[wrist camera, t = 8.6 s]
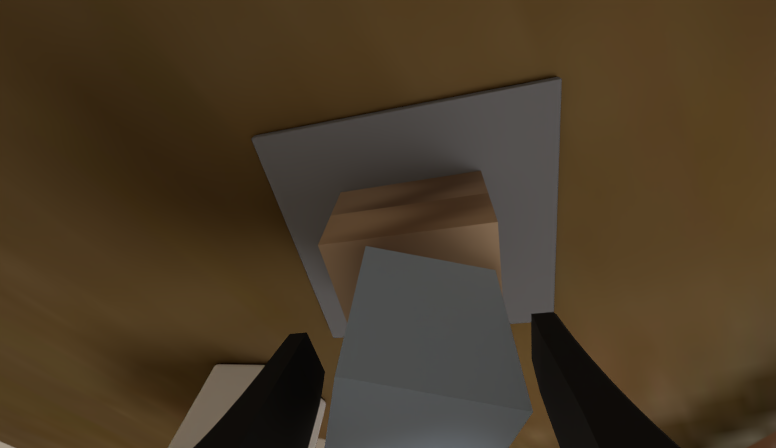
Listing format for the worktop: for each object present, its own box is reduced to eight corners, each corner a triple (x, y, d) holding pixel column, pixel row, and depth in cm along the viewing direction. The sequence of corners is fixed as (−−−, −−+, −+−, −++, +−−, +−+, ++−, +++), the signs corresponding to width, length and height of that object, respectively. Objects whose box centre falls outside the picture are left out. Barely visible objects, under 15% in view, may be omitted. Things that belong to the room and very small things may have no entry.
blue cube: (495, 270, 12) (532, 412, 8) (459, 354, 15) (474, 497, 10) (365, 245, 12) (334, 375, 8) (351, 334, 15) (321, 470, 10)
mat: (557, 76, 13) (561, 78, 13) (550, 314, 19) (553, 320, 19) (254, 135, 15) (251, 138, 15) (335, 332, 21) (333, 337, 21)
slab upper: (488, 192, 13) (498, 221, 11) (497, 312, 16) (505, 349, 14) (330, 215, 14) (317, 244, 12) (366, 323, 17) (360, 359, 15)
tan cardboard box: (480, 170, 15) (488, 192, 13) (490, 282, 18) (497, 312, 16) (340, 192, 16) (330, 215, 14) (372, 294, 19) (366, 323, 17)
